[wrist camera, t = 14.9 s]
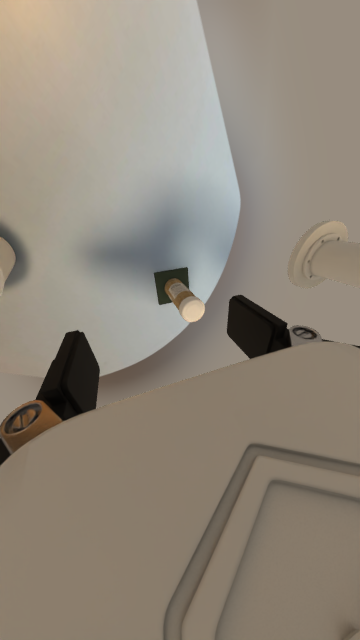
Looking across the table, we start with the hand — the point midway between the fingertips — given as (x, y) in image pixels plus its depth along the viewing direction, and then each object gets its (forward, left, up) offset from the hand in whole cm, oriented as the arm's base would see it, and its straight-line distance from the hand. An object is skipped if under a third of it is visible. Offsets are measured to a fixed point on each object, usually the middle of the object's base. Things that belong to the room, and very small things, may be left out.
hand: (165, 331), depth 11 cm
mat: (-8, +9, -30) cm, 33 cm away
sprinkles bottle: (-8, +9, -30) cm, 32 cm away
